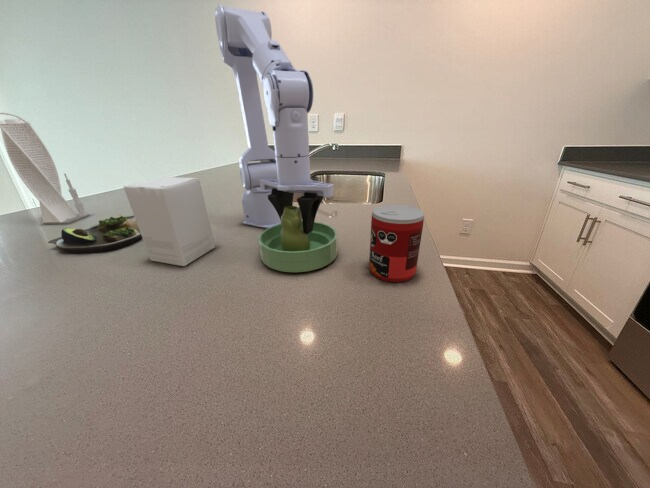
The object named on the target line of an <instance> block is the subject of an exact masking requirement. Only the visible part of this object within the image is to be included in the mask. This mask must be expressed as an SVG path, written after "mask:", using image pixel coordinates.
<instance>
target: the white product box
mask: <svg viewBox="0 0 650 488" xmlns="http://www.w3.org/2000/svg"><path fill="white" fill-rule="evenodd" d="M123 189H124V192H125V194H126V198H127V200H128V202H129V203H128V204H129V205H130V208H131V211H132V213H133V216H134V219H135V221H136V222H137V225H138V227H139V230H140V233H141V235H142V237H141V238H142V241H143V244H144V246H145V248H146V251H147V254H148V258H149V260H150V261H151V262H157V263H163V264H167V265H168V264H169V265H173V266H181V267H186V266H187V265H189V264H190V263H192V262H194V261H195V260H197V259H199V258H200V257H202V256H204V255H205V254H207V253H208V252H210V251H211V250H213V249H215V248H216V245H215V239H214V235H213V232H212V227H211V223H210V219H209V214H208V211H207V206H206V202H205V198H204V194H203V189H202V185H201V180H200V178H199V177H198V178H197V177H175V176H161V177H156V178H153V179H148V180H144V181H139V182H135V183H131V184H126V185H124V186H123Z"/></svg>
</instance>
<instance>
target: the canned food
mask: <svg viewBox="0 0 650 488" xmlns="http://www.w3.org/2000/svg"><path fill="white" fill-rule="evenodd" d="M424 220H425V212H424V211H423V210H422V209H420V208H417V207H415V206H410V205H405V204H383V205H379V206H376V207H374V208H373V209H372V211H371V220H370V221H371V223H370V239H369V258H368V259H369V260H368V263H369V264H368V265H369V270H370V273H371V274H372V275H373V276H374V277H375V278H377V279H379V280H381V281H385V282H391V283H403V282H406V281H409V280H411V279H412V278H413V277H414V276H415V274H416V271H417V267H418V262H419V261H418V260H419V256H420V248H421V241H422V235H423V228H424V223H425V222H424Z"/></svg>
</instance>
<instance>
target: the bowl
mask: <svg viewBox="0 0 650 488" xmlns="http://www.w3.org/2000/svg"><path fill="white" fill-rule="evenodd" d="M301 225H302V228H303V222H301ZM281 229H282V224H278V225H275V226H272V227H270V228H268V229H267V228H265V229H264V230H263V231H262V232H261V233H259V236H258V248H259V254H260V259H261V261H262V263H263V264H264V265H265V266H267V267H268V268H270V269H272V270H276V271H279V272H284V273H303V272H304V273H305V272H311V271H314V270H315V271H316V270H319V269H322V268H324V267H325V266H328V265H330V264H331V263H332V262H333V261H335V260H336V258H337V256H338V252H339V234H338V231H337V230H336V228H335V227H333V226H331V225H329V224H326V223H324V222H320V221H314V225H313V231H311V232H310V233H309V234H307V236H308V238H309V240H310V249H309V250H305V251H283V249H282V245H281Z"/></svg>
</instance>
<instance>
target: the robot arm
mask: <svg viewBox="0 0 650 488" xmlns="http://www.w3.org/2000/svg"><path fill="white" fill-rule="evenodd" d="M214 21H215V28H216V29H215V30H216V36H217V40H218V46H219V51H220V55H221V57H222V61H223V63H224V64H226V65H227V66H228V67H230V68H231V69H232V73H233V75H234V79H235V82H236V88H237V94H238V100H239V104H240V111H241V115H242V120H243V121H242V122H243V126H244V133H245V137H246V142H247V143H246V144H247V149H246V151H244V152H243V153H242V154H241V156H239V159H238V165H239V175H240V181H241V184H242V187H243V188H244V189H245V190H244V191H243V193H242V194H241V205H242V210H243V216H244V221H242V224H244V225H248V226H253V227H258V228H262V229H268V228H270V227H272V226H275V225H278V224H281V216H282V213H283V211H284V207H287V206H293V205H294V204H293V203H294V196H295V194H301V195H302V196H299V197H298V198H296V202H297V204H298V207H300V210H301V215H302V222H303V231H304V233H305V234H309V233H310V232H311V231H313V225H314V222H316V221H315V220H316V217H317V214H318V211H319V208H320V206H321V203H322V201H323V199H324V198H325V199H329V198H332V197H333V196H335V195H334V194H335V189H334V188H335V187H334V183H328V182H323V181H317V180H315V179H311V161H310V157H311V156H310V141H309V139H310V138H309V137H310V136H309V119H308V116H309V115H308V114H309V113H310V112H311V110H312V107H313V103H314V86H313V85H314V84H313V80H312V77H311V75H310V73H309V71H307V70H303V69H301V70H300V69H296V68H295V65H293V63H292V61H291V59H289V57H288V55H287V53H286V52H285V51H284V49H283V47H282V46H281V44H280V42H279V41H278V40H272V39H273V38H272V36H273V35H272V23H271V19H270V17H269V16H268V14H267V12H266V11H256V10H250V9H242V8H238V7H237V8H236V7H230V6H224V5H222V4H217V6H216V7H215V9H214ZM258 80H259V81H260V83H261V84H262V91H263V100H264V105H265V108H266V112H267V117H268V123H269V126H270V127H272V134H273V135H272V137H273V147H274V149H272V148H271V147H270V146H269V142H268V136H267V129H266V123H265V118H264V112H263V105H262V98H261V93H260V87H259V81H258ZM261 161H262V162H261Z"/></svg>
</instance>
